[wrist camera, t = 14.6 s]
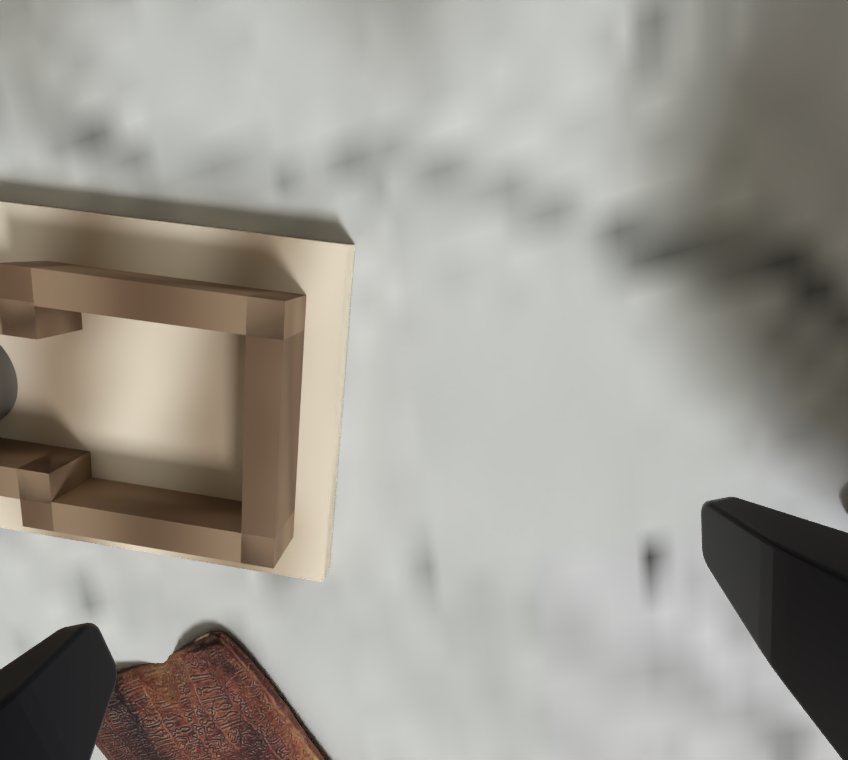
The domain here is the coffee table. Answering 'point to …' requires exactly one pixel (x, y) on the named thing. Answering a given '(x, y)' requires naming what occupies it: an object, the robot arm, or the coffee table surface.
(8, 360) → the slate peg
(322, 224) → the coffee table surface
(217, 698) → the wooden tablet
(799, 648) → the robot arm
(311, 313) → the keyhole board
